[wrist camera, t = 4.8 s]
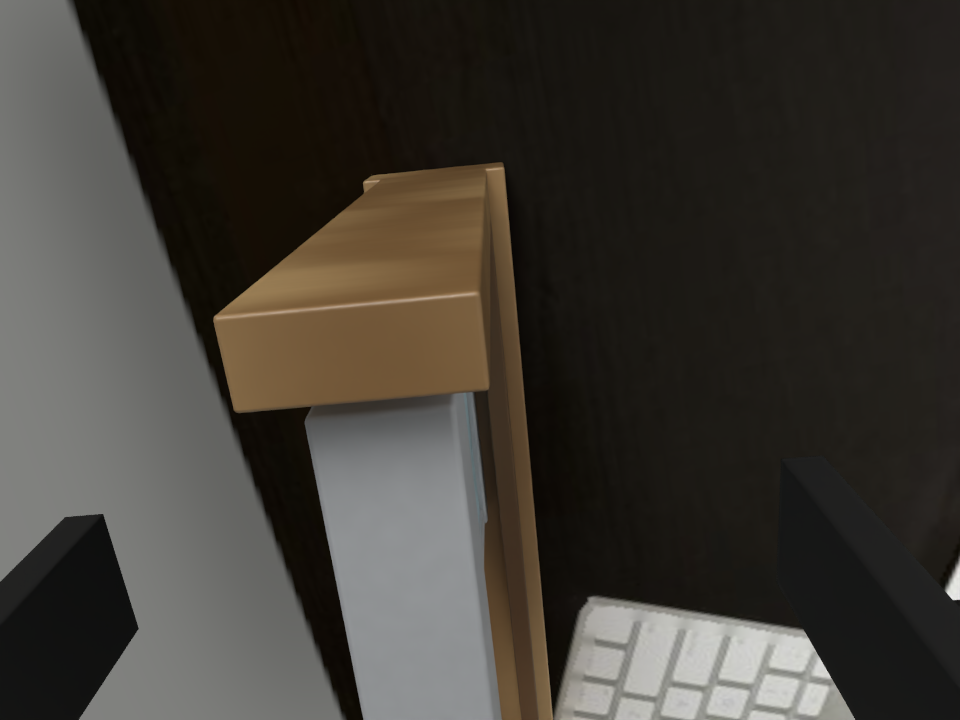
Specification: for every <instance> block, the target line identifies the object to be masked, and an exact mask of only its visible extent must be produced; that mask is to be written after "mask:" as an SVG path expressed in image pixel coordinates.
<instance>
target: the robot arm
mask: <svg viewBox="0 0 960 720" xmlns="http://www.w3.org/2000/svg"><path fill="white" fill-rule="evenodd" d="M777 584H778V586H779V587H780V589H781V591H782V592H783V594H784V596H785V598H786V599H787V601H788V603H789V605H790V606H791V608H792V610H793V612H794V613H795V615H796V617H797V619H798V620H799V622H800V624H801V626H802V627H803V629H804V631H805V633H806V634H807V636H808V638H809V639H810V641H811V643H812V645H813V646H814V648H815V650H816V652H817V653H818V655H819V657H820V659H821V660H822V662H823V664H824V666H825V667H826V669H827V671H828V673H829V674H830V676H831V678H832V680H833V681H834V683H835V685H836V687H837V688H838V690H839V692H840V693H841V695H842V697H843V699H844V700H845V702H846V704H847V706H848V707H849V709H850V711H851V713H852V714H853V716H854V718H855V720H960V600H952V599H951V598H950V597H949V595H948V594H947V593H946V592H945V591H944V590H943V589H942V588H941V587H940V585H939V584H938V583H937V582H936V581H935V580H934V579H933V578H932V577H931V575H930V574H929V573H928V572H927V571H926V570H925V569H924V568H923V567H922V565H921V564H920V563H919V562H918V561H917V560H916V559H915V558H914V557H913V555H912V554H911V553H910V552H909V551H908V550H907V549H906V548H905V546H904V545H903V544H902V543H901V542H900V541H899V540H898V539H897V538H896V536H895V535H894V534H893V533H892V532H891V531H890V530H889V529H888V528H887V526H886V525H885V524H884V523H883V522H882V521H881V520H880V519H879V518H878V516H877V515H876V514H875V513H874V512H873V511H872V510H871V509H870V508H869V506H868V505H867V504H866V503H865V502H864V501H863V500H862V499H861V498H860V496H859V495H858V494H857V493H856V492H855V491H854V490H853V489H852V488H851V486H850V485H849V484H848V483H847V482H846V481H845V480H844V479H843V478H842V476H841V475H840V474H839V473H838V472H837V471H836V470H835V469H834V468H833V466H832V465H831V464H830V463H829V462H828V461H827V460H826V459H825V458H824V456H813V457H801V458H788V459H781V479H780V505H779V531H778V557H777ZM137 630H138V625H137V622H136V619H135V615H134V612H133V609H132V606H131V603H130V600H129V596H128V593H127V590H126V586H125V583H124V580H123V577H122V574H121V570H120V567H119V564H118V561H117V558H116V554H115V551H114V548H113V545H112V541H111V538H110V535H109V532H108V529H107V525H106V522H105V519H104V516H103V514H98V515H86V516H73V517H65V518H64V519H63V520H62V521H61V522H60V523H59V524H58V525H57V526H56V527H55V528H54V529H53V530H52V531H51V532H50V533H49V534H48V535H47V536H46V537H45V538H44V539H43V540H42V541H41V542H40V543H39V544H38V545H37V546H36V547H35V548H34V549H33V550H32V551H31V552H30V553H29V554H28V555H27V556H26V557H25V558H24V559H23V560H22V561H21V562H20V563H19V564H18V565H17V566H16V567H15V568H14V569H13V570H12V571H11V572H10V573H9V574H8V575H7V576H6V577H5V578H4V579H3V580H2V581H1V582H0V720H79V718H80V717H81V715H82V714H83V712H84V711H85V709H86V708H87V706H88V705H89V703H90V702H91V700H92V699H93V697H94V696H95V694H96V692H97V691H98V689H99V688H100V686H101V685H102V683H103V682H104V680H105V679H106V677H107V676H108V674H109V673H110V671H111V670H112V668H113V666H114V665H115V664H116V662H117V661H118V659H119V658H120V656H121V655H122V653H123V651H124V650H125V649H126V647H127V645H128V644H129V642H130V641H131V639H132V638H133V636H134V635H135V633H136V632H137Z"/></svg>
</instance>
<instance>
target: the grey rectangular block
mask: <svg viewBox="0 0 960 720" xmlns="http://www.w3.org/2000/svg"><path fill="white" fill-rule="evenodd" d="M305 427H306V432H307V437H308V442H309V447H310V452H311V457H312V462H313V467H314V472H315V477H316V482H317V487H318V492H319V497H320V502H321V508H322V513H323V518H324V523H325V528H326V533H327V538H328V543H329V548H330V553H331V558H332V563H333V568H334V573H335V578H336V583H337V588H338V593H339V599H340V604H341V609H342V614H343V619H344V624H345V629H346V634H347V639H348V644H349V649H350V654H351V659H352V664H353V669H354V674H355V679H356V684H357V690H358V695H359V700H360V705H361V710H362V715H363V720H502V717H501V709H500V700H499V692H498V683H497V675H496V666H495V658H494V649H493V641H492V632H491V624H490V615H489V607H488V598H487V590H486V581H485V573H484V526H485V523H487V521H488V505H487V496H486V487H485V478H484V469H483V461H482V452H481V443H480V434H479V425H478V416H477V407H476V398H475V392H468V393H457V394H446V395H435V396H423V397H412V398H401V399H390V400H379V401H367V402H356V403H345V404H334V405H322V406H312V408H311V410H310V412H309V413H308V415H307V417H306V420H305Z"/></svg>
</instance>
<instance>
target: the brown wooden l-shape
mask: <svg viewBox="0 0 960 720" xmlns="http://www.w3.org/2000/svg"><path fill="white" fill-rule="evenodd" d="M363 187H364V194H363V195H362V196H361V197H359V198H358V199H357V200H356V201H354V202H353V203H352V204H351V205H350V206H348V207H347V208H346V209H345V210H344V211H342V212H341V213H340V214H339V215H337V216H336V217H335V218H334V219H333V220H331V221H330V222H329V223H328V224H326V225H325V226H324V227H323V228H322V229H320V230H319V231H318V232H317V233H315V234H314V235H313V236H312V237H311V238H309V239H308V240H307V241H306V242H304V243H303V244H302V245H301V246H300V247H298V248H297V249H296V250H295V251H293V252H292V253H291V254H290V255H289V256H287V257H286V258H285V259H284V260H283V261H281V262H280V263H279V264H278V265H276V266H275V267H274V268H273V269H272V270H270V271H269V272H268V273H267V274H265V275H264V276H263V277H262V278H261V279H259V280H258V281H257V282H256V283H254V284H253V285H252V286H251V287H250V288H248V289H247V290H246V291H245V292H243V293H242V294H241V295H240V296H239V297H237V298H236V299H235V300H234V301H232V302H231V303H230V304H229V305H228V306H226V307H225V308H224V309H223V310H221V311H220V312H219V313H218V314H217V315H215V316H214V320H213V321H214V326H215V330H216V334H217V338H218V343H219V347H220V351H221V356H222V360H223V364H224V369H225V373H226V377H227V382H228V386H229V390H230V395H231V399H232V403H233V408H234V410H235V412H237V413H244V412H255V411H266V410H278V409H289V408H300V407H311V406H322V405H334V404H345V403H356V402H367V401H379V400H390V399H401V398H412V397H423V396H435V395H446V394H457V393H468V392H475V398H476V407H477V416H478V425H479V434H480V443H481V452H482V461H483V469H484V478H485V487H486V496H487V505H488V521H487V523H485V526H484V573H485V581H486V590H487V598H488V607H489V615H490V624H491V632H492V641H493V649H494V658H495V666H496V675H497V683H498V692H499V700H500V709H501V717H502V720H553V715H552V704H551V692H550V681H549V670H548V658H547V647H546V636H545V624H544V613H543V602H542V590H541V579H540V567H539V556H538V545H537V533H536V522H535V511H534V499H533V488H532V477H531V465H530V454H529V443H528V431H527V420H526V408H525V397H524V386H523V374H522V363H521V352H520V340H519V329H518V318H517V306H516V295H515V283H514V272H513V261H512V249H511V238H510V227H509V215H508V204H507V193H506V181H505V170H504V164H503V163H501V162H499V163H489V164H479V165H470V166H460V167H450V168H441V169H431V170H421V171H412V172H402V173H392V174H383V175H373V176H371V177H369V178H368V179H367V180H365V181H364V182H363Z"/></svg>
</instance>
